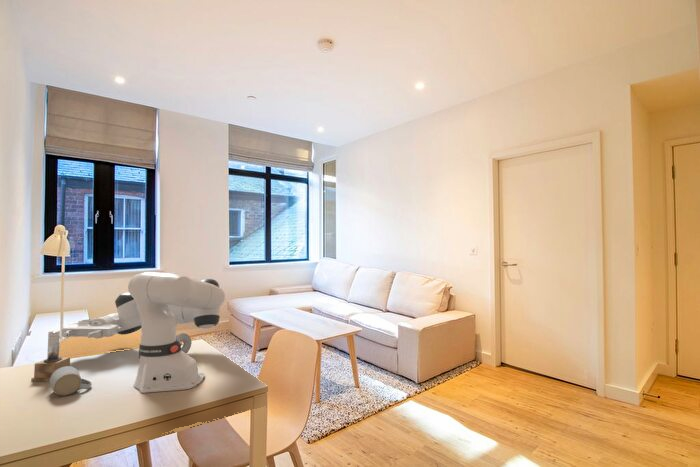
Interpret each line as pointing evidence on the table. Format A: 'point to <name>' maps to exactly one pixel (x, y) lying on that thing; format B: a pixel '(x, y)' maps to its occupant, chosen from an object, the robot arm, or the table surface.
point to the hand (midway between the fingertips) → (77, 335)
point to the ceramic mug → (67, 381)
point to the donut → (184, 342)
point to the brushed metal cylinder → (53, 345)
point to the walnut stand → (48, 368)
